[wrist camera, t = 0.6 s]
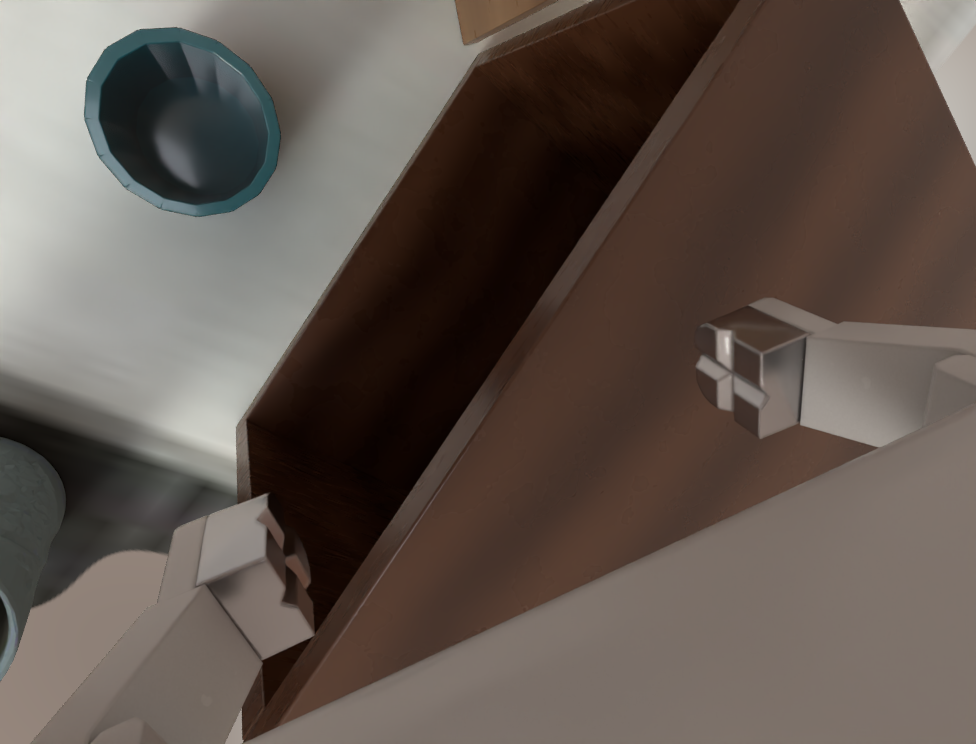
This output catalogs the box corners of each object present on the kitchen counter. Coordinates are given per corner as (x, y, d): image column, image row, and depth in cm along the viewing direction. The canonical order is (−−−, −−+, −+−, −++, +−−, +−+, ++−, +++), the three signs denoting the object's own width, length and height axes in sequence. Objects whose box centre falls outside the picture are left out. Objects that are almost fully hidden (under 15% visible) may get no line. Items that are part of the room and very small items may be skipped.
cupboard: (235, 427, 37) (242, 779, 15) (478, 53, 35) (846, -119, 14) (448, 519, 46) (635, 821, 24) (647, 224, 44) (1026, 274, 23)
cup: (101, 150, 29) (46, 142, 21) (170, 38, 29) (144, -17, 20) (226, 227, 33) (225, 248, 24) (289, 128, 32) (311, 113, 24)
